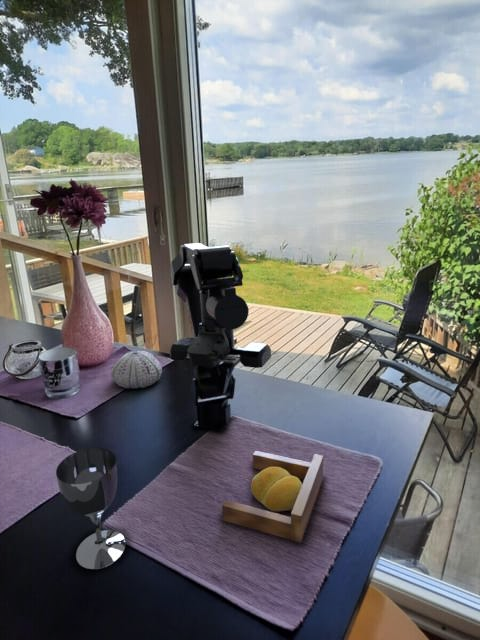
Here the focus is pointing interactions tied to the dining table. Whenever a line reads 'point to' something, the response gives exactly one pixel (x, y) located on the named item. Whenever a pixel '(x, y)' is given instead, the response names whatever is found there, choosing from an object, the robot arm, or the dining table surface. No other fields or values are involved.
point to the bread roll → (276, 489)
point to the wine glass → (92, 502)
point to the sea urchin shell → (136, 370)
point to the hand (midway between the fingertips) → (222, 393)
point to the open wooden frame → (303, 506)
